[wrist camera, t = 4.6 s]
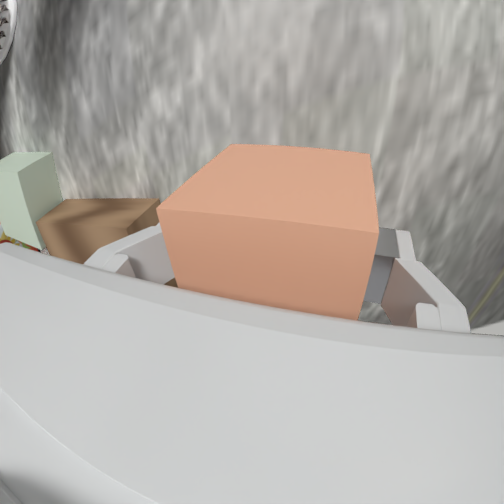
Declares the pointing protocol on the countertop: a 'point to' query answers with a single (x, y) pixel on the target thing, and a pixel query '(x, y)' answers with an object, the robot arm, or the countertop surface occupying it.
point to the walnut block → (94, 225)
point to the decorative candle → (7, 25)
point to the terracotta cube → (276, 228)
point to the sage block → (27, 194)
